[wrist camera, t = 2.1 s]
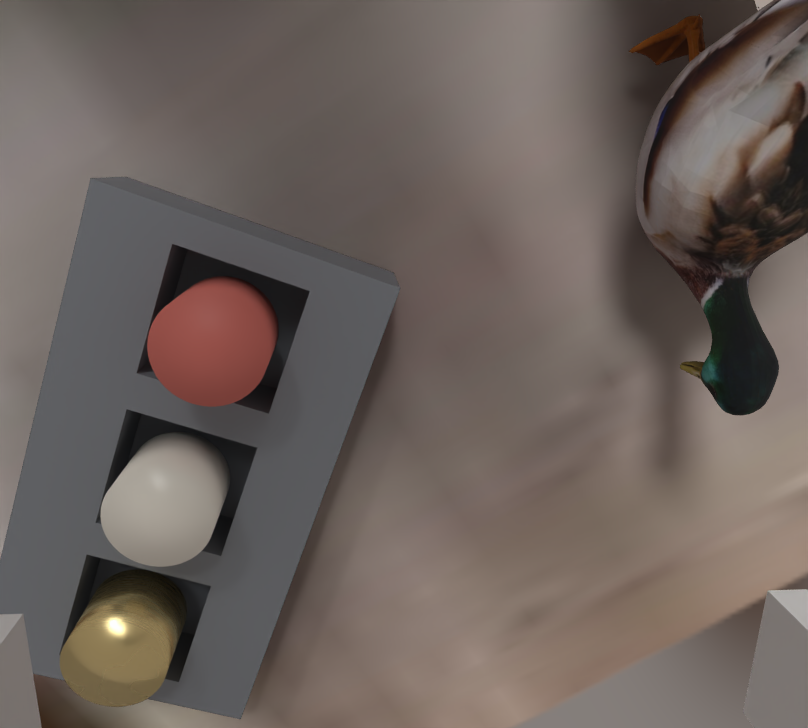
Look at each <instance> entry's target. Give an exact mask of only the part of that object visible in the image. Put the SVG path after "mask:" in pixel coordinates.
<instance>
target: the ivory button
mask: <svg viewBox="0 0 808 728" xmlns="http://www.w3.org/2000/svg"><path fill="white" fill-rule="evenodd" d="M229 486H230V471H229V467H228V464H227V462H226V460H225V458H224V456H223V455H222V453H221V452H220V451H219V450H218V449H217V447H215V446H214V445H213V444H212V443H211V442H209V441H208V440H206V439H204V438H202V437H200V436H197V435H195V434H191V433H186V432H169V433H164V434H160V435H158V436H155V437H153V438H152V439H150V440H148V441H147V442H146V443H144V444H143V445H142V446H141V447H140V448H139V450H138V451H137V452H136V454H135V455H134V456H133V458H132V459H131V460H130V462H129V463H128V464H127V466H126V467H125V468H124V470H123V471H122V472H121V474H120V475H119V476H118V478H117V479H116V481H115V482H114V483H113V485H112V486H111V487H110V489H109V490H108V491H107V493H106V495H105V497H104V499H103V502H102V506H101V514H100V517H101V524H102V528H103V531H104V533H105V535H106V537H107V539H108V540H109V542H110V543H111V544H112V545H113V547H114V548H115V549H116V550H117V551H118V552H120V553H121V554H122V555H124V556H125V557H127V558H129V559H130V560H133V561H135V562H137V563H140V564H144V565H148V566H156V567H166V566H173V565H177V564H181V563H183V562H186V561H188V560H190V559H192V558H193V557H195V556H196V555H198V554H199V553H200V552H201V551H202V550H203V549H204V548H205V546H206V545H207V544H208V542H209V540H210V538H211V536H212V533H213V531H214V528H215V525H216V523H217V520H218V517H219V514H220V512H221V509H222V506H223V504H224V501H225V498H226V495H227V493H228V490H229Z"/></svg>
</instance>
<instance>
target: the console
mask: <svg viewBox="0 0 808 728" xmlns="http://www.w3.org/2000/svg"><path fill="white" fill-rule="evenodd" d="M217 276H229V277H235V278H239V279H242V280H244V281H247V282H249V283H251V284H252V285H254V286H255V287H257V288H258V289H259V290H260V291H262V292H263V293H264V294H265V296H266V297H267V298H268V299H269V301H270V302H271V304H272V306H273V308H274V310H275V312H276V315H277V319H278V325H279V333H278V340H277V344H276V346H275V349H274V351H273V354H272V356H271V359H270V361H269V364H268V366H267V369H266V371H265V374H264V376H263V378H262V380H261V381H260V383H259V384H258V385H257V387H256V388H255V389H254V390H253V391H252V392H251V393H250V394H248V395H247V396H245V397H244V398H242V399H240V400H239V401H236V402H234V403H231V404H228V405H224V406H216V407H208V406H200V405H196V404H192V403H189V402H186V401H184V400H182V399H180V398H178V397H177V396H175V395H174V394H172V393H171V392H170V391H169V390H168V389H166V388H165V387H164V386H163V384H162V383H161V382H160V381H159V379H158V378H157V377H156V375H155V373H154V371H153V369H152V367H151V364H150V361H149V357H148V350H147V342H148V335H149V331H150V328H151V325H152V323H153V321H154V319H155V318H156V316H157V315H158V314H159V312H160V311H161V310H162V309H163V308H164V307H165V306H166V305H168V304H169V303H170V302H172V301H173V300H174V299H176V298H177V297H178V296H180V295H181V294H182V293H183V292H185V291H186V290H187V289H189V288H190V287H191V286H193V285H194V284H196V283H198V282H199V281H202V280H204V279H207V278H211V277H217ZM399 290H400V286H399V284H398V282H397V279H396V277H395V275H394V273H393V272H390V271H388V270H385V269H382V268H379V267H376V266H374V265H371V264H368V263H365V262H362V261H360V260H357V259H354V258H351V257H349V256H346V255H343V254H340V253H337V252H335V251H332V250H329V249H326V248H323V247H321V246H318V245H315V244H312V243H309V242H307V241H304V240H301V239H298V238H296V237H293V236H290V235H287V234H284V233H282V232H279V231H276V230H273V229H270V228H268V227H265V226H262V225H259V224H257V223H254V222H251V221H248V220H245V219H243V218H240V217H237V216H234V215H231V214H229V213H226V212H223V211H220V210H217V209H215V208H212V207H209V206H206V205H204V204H201V203H198V202H195V201H192V200H190V199H187V198H184V197H181V196H178V195H176V194H173V193H170V192H167V191H164V190H162V189H159V188H156V187H153V186H151V185H148V184H145V183H142V182H139V181H137V180H134V179H131V178H128V177H110V178H91V179H90V183H89V188H88V192H87V196H86V200H85V204H84V209H83V213H82V217H81V221H80V226H79V230H78V234H77V238H76V243H75V247H74V251H73V255H72V259H71V264H70V268H69V272H68V276H67V281H66V285H65V289H64V293H63V297H62V302H61V306H60V310H59V314H58V319H57V323H56V327H55V331H54V335H53V340H52V344H51V348H50V352H49V357H48V361H47V365H46V369H45V373H44V378H43V382H42V386H41V390H40V395H39V399H38V403H37V407H36V411H35V416H34V420H33V424H32V428H31V433H30V437H29V441H28V445H27V450H26V454H25V458H24V462H23V466H22V471H21V475H20V479H19V483H18V488H17V492H16V496H15V500H14V504H13V509H12V513H11V517H10V521H9V526H8V530H7V534H6V538H5V542H4V547H3V551H2V555H1V559H0V614H23V615H24V622H25V628H26V634H27V640H28V647H29V653H30V659H31V665H32V671H33V674H37V675H42V676H46V677H51V678H56V679H60V680H64V678H63V676H62V673H61V670H60V654H61V651H62V648H63V646H64V644H65V643H66V641H67V639H68V638H69V636H70V634H71V633H72V631H73V629H74V627H75V626H76V624H77V622H78V621H79V619H80V617H81V616H82V614H83V612H84V611H85V609H86V607H87V606H88V604H89V602H90V601H91V599H92V597H93V595H94V594H95V592H96V590H97V589H98V587H99V586H100V585H101V584H102V583H103V582H104V581H105V580H106V579H108V578H109V577H110V576H112V575H114V574H116V573H119V572H122V571H126V570H134V569H141V570H148V571H153V572H156V573H159V574H161V575H163V576H165V577H167V578H168V579H170V580H171V581H172V582H174V583H175V584H176V585H177V586H178V588H179V589H180V590H181V592H182V593H183V595H184V597H185V600H186V604H187V617H186V621H185V624H184V626H183V629H182V632H181V635H180V638H179V640H178V643H177V646H176V649H175V652H174V654H173V657H172V660H171V663H170V666H169V668H168V671H167V674H166V677H165V679H164V682H163V683H162V685H161V687H160V688H159V689H158V690H157V691H156V692H155V693H154V694H153V695H152V696H150V697H149V698H147V699H151V700H155V701H160V702H164V703H169V704H174V705H178V706H183V707H187V708H192V709H196V710H201V711H205V712H210V713H214V714H219V715H223V716H228V717H233V718H237V719H241V717H242V714H243V711H244V709H245V706H246V703H247V701H248V698H249V695H250V693H251V690H252V687H253V684H254V682H255V679H256V676H257V674H258V671H259V668H260V666H261V663H262V660H263V657H264V655H265V652H266V649H267V647H268V644H269V641H270V639H271V636H272V633H273V630H274V628H275V625H276V622H277V620H278V617H279V614H280V612H281V609H282V606H283V603H284V601H285V598H286V595H287V593H288V590H289V587H290V585H291V582H292V579H293V576H294V574H295V571H296V568H297V566H298V563H299V560H300V558H301V555H302V552H303V550H304V547H305V544H306V541H307V539H308V536H309V533H310V531H311V528H312V525H313V523H314V520H315V517H316V514H317V512H318V509H319V506H320V504H321V501H322V498H323V496H324V493H325V490H326V487H327V485H328V482H329V479H330V477H331V474H332V471H333V469H334V466H335V463H336V460H337V458H338V455H339V452H340V450H341V447H342V444H343V442H344V439H345V436H346V433H347V431H348V428H349V425H350V423H351V420H352V417H353V415H354V412H355V409H356V406H357V404H358V401H359V398H360V396H361V393H362V390H363V388H364V385H365V382H366V379H367V377H368V374H369V371H370V369H371V366H372V363H373V361H374V358H375V355H376V352H377V350H378V347H379V344H380V342H381V339H382V336H383V334H384V331H385V328H386V326H387V323H388V320H389V317H390V315H391V312H392V309H393V307H394V304H395V301H396V299H397V296H398V293H399ZM169 432H186V433H191V434H195V435H197V436H200V437H202V438H204V439H206V440H208V441H209V442H211V443H212V444H213V445H214V446H215V447H217V449H218V450H219V451H220V452H221V453H222V455H223V456H224V458H225V460H226V462H227V464H228V467H229V471H230V486H229V490H228V493H227V495H226V498H225V501H224V504H223V506H222V509H221V512H220V514H219V517H218V520H217V523H216V525H215V528H214V531H213V533H212V536H211V538H210V540H209V542H208V544H207V545H206V546H205V548H204V549H203V550H202V551H201V552H200V553H199V554H198V555H196V556H195V557H193V558H192V559H190V560H188V561H186V562H183V563H181V564H177V565H173V566H166V567H156V566H148V565H144V564H140V563H137V562H135V561H133V560H130V559H129V558H127V557H125V556H124V555H122V554H121V553H120V552H118V551H117V550H116V549H115V548H114V547H113V545H112V544H111V543H110V542H109V540H108V539H107V537H106V535H105V533H104V531H103V528H102V524H101V517H100V514H101V506H102V502H103V499H104V497H105V495H106V493H107V491H108V490H109V489H110V487H111V486H112V485H113V483H114V482H115V481H116V479H117V478H118V476H119V475H120V474H121V472H122V471H123V470H124V468H125V467H126V466H127V464H128V463H129V462H130V460H131V459H132V458H133V456H134V455H135V454H136V452H137V451H138V450H139V448H140V447H141V446H142V445H143V444H144V443H146V442H147V441H148V440H150V439H152V438H153V437H155V436H158V435H160V434H164V433H169Z"/></svg>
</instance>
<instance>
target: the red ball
mask: <svg viewBox="0 0 808 728" xmlns="http://www.w3.org/2000/svg"><path fill="white" fill-rule="evenodd" d="M278 333H279V325H278V319H277V315H276V312H275V310H274V308H273V306H272V304H271V302H270V301H269V299H268V298H267V297H266V296H265V294H264V293H263V292H262V291H260V290H259V289H258V288H257V287H255V286H254V285H252V284H251V283H249V282H247V281H244V280H242V279H239V278H235V277H229V276H217V277H211V278H207V279H204V280H202V281H199V282H198V283H196V284H194V285H193V286H191V287H190V288H189V289H187V290H186V291H185V292H183V293H182V294H181V295H180V296H178V297H177V298H176V299H174V300H173V301H172V302H170V303H169V304H168V305H166V306H165V307H164V308H163V309H162V310H161V311H160V312H159V314H158V315H157V316H156V318H155V319H154V321H153V323H152V325H151V328H150V331H149V335H148V342H147V350H148V357H149V361H150V364H151V367H152V369H153V371H154V373H155V375H156V377H157V378H158V379H159V381H160V382H161V383H162V384H163V386H164V387H165V388H166V389H168V390H169V391H170V392H171V393H172V394H174V395H175V396H177V397H178V398H180V399H182V400H184V401H186V402H189V403H192V404H196V405H200V406H208V407H216V406H224V405H228V404H231V403H234V402H236V401H239V400H240V399H242V398H244V397H245V396H247V395H248V394H250V393H251V392H252V391H253V390H254V389H255V388H256V387H257V385H258V384H259V383H260V381H261V380H262V378H263V376H264V374H265V371H266V369H267V366H268V364H269V361H270V359H271V356H272V354H273V351H274V349H275V346H276V344H277V340H278Z"/></svg>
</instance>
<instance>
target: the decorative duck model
mask: <svg viewBox="0 0 808 728" xmlns="http://www.w3.org/2000/svg"><path fill="white" fill-rule="evenodd" d="M702 25H703V19H702V17H700V14H699V15H698V16H689V17H686V18H684V19H683V20H681V21H680V22H679V23H677V24H676V25H674V26H672V27H670V28H668V29H666V30H664V31H662V32H660V33H657V34H655V35H653V36H651V37H649V38H647V39H646V40H644V41H643V42H641V43H639V44H638V45H636V46H635V47H633V48H632V49H631V50H630V51H629V52H631V53H634V52H637V53H641V54H643V55H646V56H648V57H649V58H650V59H651V60H652V61H653V62H654V63H656V65H659V64H661V63H663V62H666V61H669V60H672V59H675V58H678V57H681V56H685V55H689V63H688V65H687V66H686V67H685V68H684V69H683V70H682V71H681V72H680V74H679V75H678V76H677V77H676V79H675V80H674V81H673V83H672V84H671V85H670V87H669V88H668V90H667V91H666V93H665V94H664V95H663V97H662V98H661V100H660V102H659V104H658V106H657V108H656V110H655V112H654V114H653V115H652V117H651V120H650V122H649V125H648V128H647V130H646V134H645V137H644V141H643V144H642V147H641V151H640V154H639V159H638V164H637V173H636V210H637V213H638V217H639V220H640V223H641V225H642V228H643V230H644V232H645V234H646V235H647V237H648V238H649V240H650V242H651V243H652V244H653V246H654V247H655V248H656V250H657V251H658V252H659V253H660V254H661V255H662V256H663V257H664V258H665V259H666V260H667V262H668V263H669V264H670V265H671V266H672V267H673V268H674V269H675V271H676V272H677V273H678V274H679V275H680V276H681V278H682V279H683V280H684V281H685V283H686V284H687V285H688V287H689V288H690V290H691V291H692V293H693V294H694V296H695V297H696V299H697V300H698V302H699V303H700V305H701V307H702V309H703V311H704V313H705V315H706V317H707V319H708V322H709V325H710V329H711V332H712V346H711V351H710V353H709V356H708V357H707V359H706V361H705V362H697V361H692V362H682V363H681V365H680V368H681V369H682V370H684V371H686V372H688V373H690V374H692V375H694V376H696V377H698V378H700V379H701V380H702V382H703V383H704V384H705V386H706V387H707V388H708V390H709V391H710V392H711V394H712V395H713V397H714V399H715V401H716V402H717V404H718V405H719V406H720V407H721V409H722V410H724V411H725V412H727V413H729V414H732V415H746V414H750V413H753V412H755V411H757V410H759V409H760V408H761V407H762V406H763V405H765V403H766V402H767V400H768V399H769V397H770V395H771V392H772V390H773V387H774V385H775V382H776V379H777V376H778V370H779V365H778V360H777V357H776V355H775V352H774V350H773V348H772V346H771V345H770V343H769V341H768V339H767V337H766V336H765V334H764V332H763V330H762V328H761V326H760V324H759V322H758V319H757V317H756V315H755V313H754V311H753V309H752V306H751V303H750V299H749V295H748V283H749V278H750V276H751V274H752V272H753V270H754V269H755V268H756V267H757V266H758V264H759V263H760V262H761V261H763V260H764V259H766V258H767V257H768V256H770V255H771V254H773V253H775V252H776V251H778V250H779V249H781V248H783V247H784V246H786V245H788V244H790V243H791V242H793V241H795V240H796V239H798V238H800V237H802V236H803V235H805V234H806V233H808V0H773V1H772V2H770V3H769V4H767V5H766V6H764V7H763V8H762V9H760V10H759V11H757V12H756V13H755V14H753V15H752V16H750V17H749V18H748V19H746V20H745V21H744V22H742V23H741V24H739V25H738V26H737V27H735V28H734V29H733V30H731V31H730V32H729V33H727V34H726V35H724V36H723V37H722V38H720V39H719V40H718V41H716V42H715V43H713V44H712V45H711V46H709V47H708V48H707V49H705V42H704V39H703V29H702ZM699 52H701V53H700V54H699Z"/></svg>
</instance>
